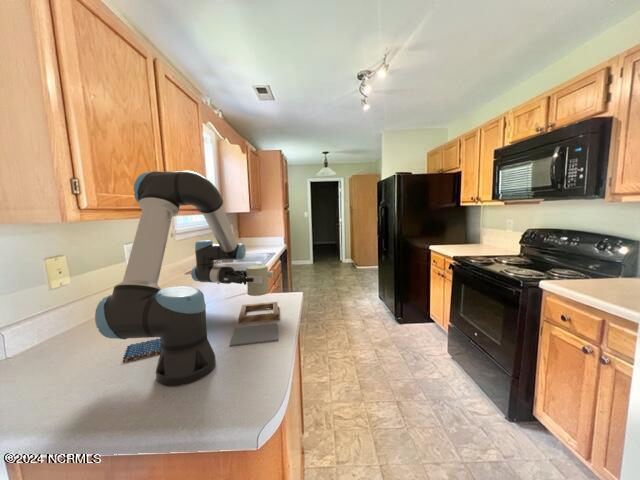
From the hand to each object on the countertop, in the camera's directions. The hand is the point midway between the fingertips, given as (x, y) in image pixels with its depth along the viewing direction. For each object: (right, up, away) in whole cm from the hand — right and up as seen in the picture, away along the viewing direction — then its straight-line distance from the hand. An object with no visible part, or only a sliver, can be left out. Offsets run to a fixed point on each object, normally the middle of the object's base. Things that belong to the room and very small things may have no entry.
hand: (267, 277), depth 114 cm
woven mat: (-35, -21, -26) cm, 48 cm away
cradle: (-4, -17, +3) cm, 17 cm away
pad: (-1, -18, -17) cm, 25 cm away
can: (-4, -7, +2) cm, 9 cm away
